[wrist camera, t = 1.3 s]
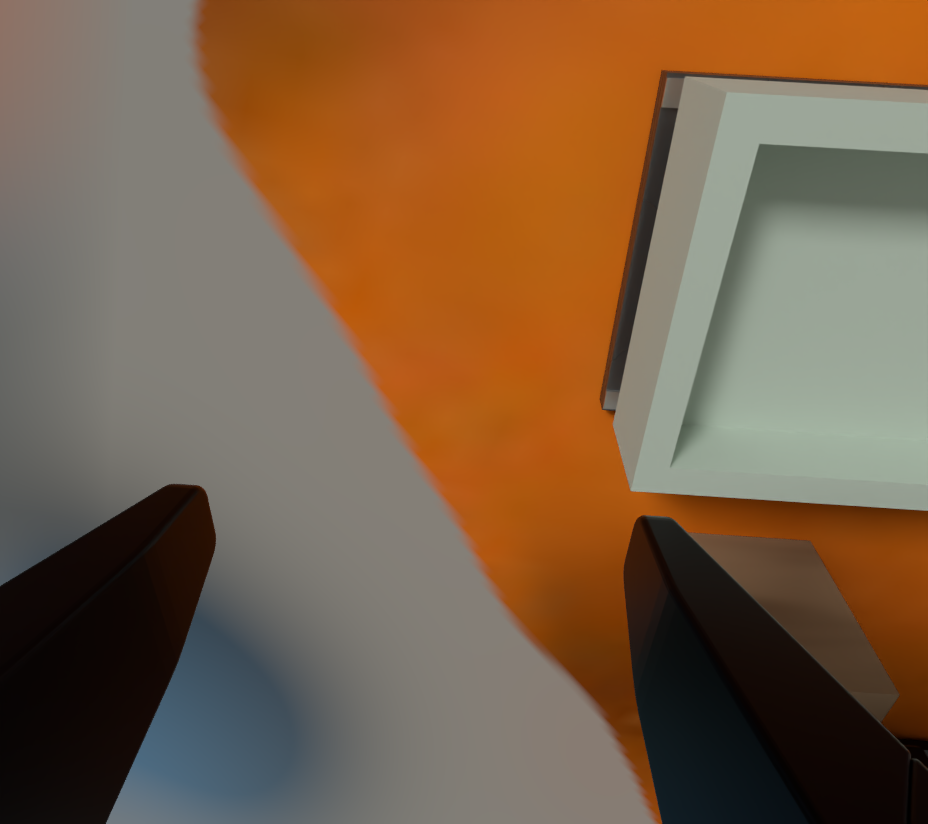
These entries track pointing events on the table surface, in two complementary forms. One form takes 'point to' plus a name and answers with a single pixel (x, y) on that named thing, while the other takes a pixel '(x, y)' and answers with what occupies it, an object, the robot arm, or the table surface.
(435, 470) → the table surface
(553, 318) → the table surface
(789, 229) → the pale green tray
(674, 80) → the track
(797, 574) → the walnut block
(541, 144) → the table surface
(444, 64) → the table surface
